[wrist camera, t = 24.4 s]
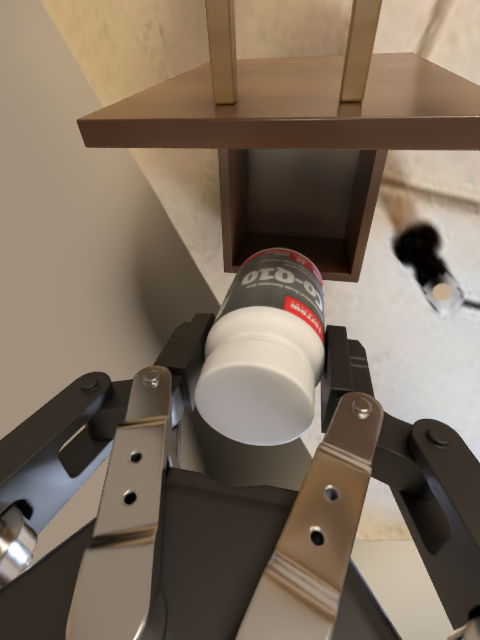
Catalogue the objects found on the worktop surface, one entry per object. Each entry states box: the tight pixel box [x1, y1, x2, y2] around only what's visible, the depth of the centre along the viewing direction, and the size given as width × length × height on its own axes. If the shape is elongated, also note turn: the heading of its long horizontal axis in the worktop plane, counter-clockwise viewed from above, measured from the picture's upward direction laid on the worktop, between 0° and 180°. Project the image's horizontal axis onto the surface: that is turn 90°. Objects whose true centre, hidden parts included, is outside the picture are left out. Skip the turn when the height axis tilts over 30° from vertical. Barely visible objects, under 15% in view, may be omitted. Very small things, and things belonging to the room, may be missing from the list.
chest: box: [218, 149, 388, 283], centre depth 29 cm, size 16×13×10 cm
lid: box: [77, 0, 480, 151], centre depth 13 cm, size 16×13×5 cm
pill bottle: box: [195, 248, 326, 446], centre depth 14 cm, size 5×5×8 cm
